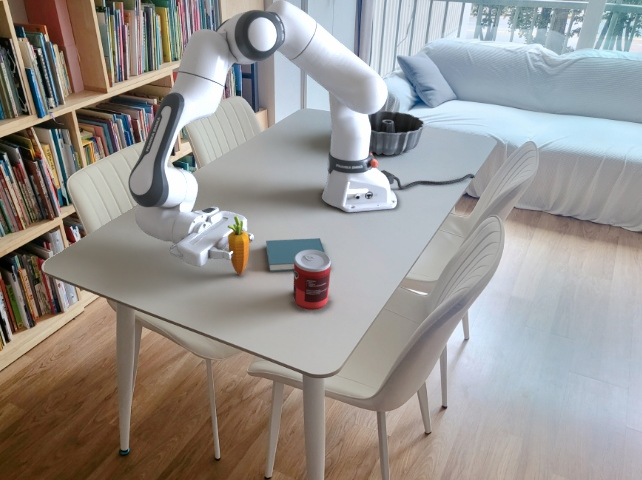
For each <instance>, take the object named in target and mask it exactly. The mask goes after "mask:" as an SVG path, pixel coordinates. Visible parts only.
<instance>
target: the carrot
mask: <svg viewBox="0 0 642 480" xmlns="http://www.w3.org/2000/svg"><path fill="white" fill-rule="evenodd" d="M234 219H235V222H236V224H233V226H234V227H233V226H231V225H228V228H231V229H232V230H233V232H232V233H230V234H229V235H228V244H229V245H228V249H229V250H232V251H233V257H232V258H231V259H230V261H231V264H232V267H233V270H234V271H235V272H236V274H237V275H239V276H241V275H242V274H243V273H244V272H245V270H246V268H247V265H248V260H249V254H250V243H249V238H248V234H247V233H246V232H244V231H242V228H243V221H242V220H241V223H240V222H239V219H238V217H237V216H235V217H234ZM236 225H237V226H236Z"/></svg>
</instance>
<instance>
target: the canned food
mask: <svg viewBox="0 0 642 480" xmlns="http://www.w3.org/2000/svg"><path fill="white" fill-rule="evenodd" d="M324 252H325V251H324ZM324 252H321V251H318V250H304V251H301V252H299V253H297V254H296V256H295V259H294V270H293V291H292V293H293V294H292V295H293V296H292V297H293V300H294V301H293V302H294V303H295V304H296V305H297V306H298V307H299V308H301V309H304V310H308V311H317V310H320V309H323V308H324V307H325V306H326V305H327V303H328V301H329V294H330V293H329V292H330V282H331V281H330V280H331V279H330V278H331V268H332V267H331V265H332V261H331V257H330V255H328V254H327V253H326V252H325V253H324Z"/></svg>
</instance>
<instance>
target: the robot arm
mask: <svg viewBox="0 0 642 480" xmlns="http://www.w3.org/2000/svg"><path fill="white" fill-rule="evenodd" d="M276 52H279V53H280V54H282V56H284V57H285V58H286V59H287V60H288V61H289V62H291V63H292V64H294V65H295V66H296V67H297V68H298V69H299V70H301V71H302V72H303V73H304V74H306V75H307V76H308V77H310V78H311V79H312V80H313V81H315V82H316V83H317V84H318V85H319V86H321V87H322V88H323V89H324V90H326V91H327V92H328V101H329V112H330V120H331V132H330V133H331V134H330V151H329V152H328V157H327V167H326V168H327V169H326V170H327V177H326V182H325V186H324V189H323V192H322V195H321V198H322V200H323V201H324V202H325V203H326V204H328V205H329V206H331V207H335V208H338V209H339V210H342V211H343V212H345V213H354V212H355V213H358V212H368V211H380V210H392V209H394V208H396V207H397V201H398V200H397V196H396V194H395V192H394V190H393V189H391V185H393V184H394V183H395V181H396V183H397V187H398V188H399V190H406V189H409V188H411V187H412V186H415V185H419V184H421V185H422V184H426V185H447V184H453V183H459V182H462V181H464V180H466V179H467V178H472V179H476V176H475V175H474V174H473V173H468V174H465V175H464V176H463V177H460V178H456V179H450V180H441V181H434V180H417V181H413V182H410V183H408V184H407V185H405V186H402V184H401V180H400V179H399V178H398V177H397V176H395V175H394V174H393V173H391V172H389V171H387V170H385V169H382V170H379V169H378V168H377V167H379V162H378V160H377V159H376V157H375V156H374V155H373V153H372V152H369V144H370V135H371V126H370V123H369V118H368V115H370V114H374V113H376V112H377V111H381V109H382V108H383V107H384V105H385V104H386V101H387V99H388V93H389V92H388V87H387V84H386V82H385V80H384V79H383V78H382V77H381V75H380V74H379V73H378V72H376V70H374V69H373V68H372V67H371V66H370V65H368V64H367V63H366V62H365V61H363V60H362V59H361V58H360V57H359V56H358V55H357V54H355V53H354V52H353V51H351V50H350V49H349V48H348V47H346V46H345V45H344V44H343V43H342V42H340V41H339V40H338V39H337V38H336V37H334V35H332V34H331V33H330V32H329V31H328V30H326V28H325V27H323V26H322V25H321V24H320V23H319V22H318V21H317V20H315V19H314V17H312V16H310V15H309V14H308V13H307V12H305V11H304V10H302V9H301V8H300V7H298V6H296V5H295V4H292V3H291V2H289V1H288V0H275V1H274V2H272V3H271V4H270V5H269V6H268V7H267V8H266V10H262V9H261V10H260V9H251V10H248V11H243V12H239V13H237V14H234V15H233V16H232V17H231V18H228V19H226V20H224V21H223V22H222V23H221V24H220V25H219V26H218V27H217V28H216V29H215V30H213V29H209V28H202V29H198V30H195V31H194V32H192V33H191V36H190V37H189V39H188V41H187V43H186V46H185V48H184V51H183V54H182V56H181V59H180V62H179V66H178V70H177V73H176V78H175V81H174V83H173V85H172V87H171V89H170V91H169V93H168V94H166V95H165V96H164V97H163V98H162V100H161V101H160V103H159V105H158V107H157V109H156V112H155V115H154V116H153V117H154V118H153V120H152V123H151V125H150V128H149V131H148V134H147V136H146V139H145V141H144V144H143V148H142V150H141V153H140V155H139V157H138V160H137V161H136V163H135V164H134V166H133V168H132V170H131V171H130V173H129V176H128V190H129V193H130V196H131V198H132V199H133V201H134V202H135V203H136V204H137V207H136V209H135V213H134V214H135V215H134V218H135V222H136V225H137V226H138V228H139V229H140V230H141V231H142V232H143V233H145V234H146V235H148V236H151V237H152V238H154V239H157V240H159V241H162V242H171V243H173V244H172V245H171V246H170V248H169V253H170V255H171V256H174V257H178V258H179V259H180V260H181V261H182V262H185V263H187V264H189V265H191V266H194V267H202V266H204V265H205V264H206V263H208V262H209V261H210V260H211V259H213V260H221V259H224V260H227V261H231V258H232V257H233V251H232V250H229V248H227V247H229V244H228V235H229V234H230V233H232V232H233V230H232V229H231V228H228V225H231V226H233V224H236V222H235V219H234V217H235V216H237V217H238V219H239V222H240V223H241V220H242V221H243V228H242V231H244V232H246V233H247V234H248V238H249V244H250V243H252V242H253V241H254V239H255V237H254V234H253V233H250V232H248V219H247V218H246V217H245V216H244V215H242V214H239V213H236V212H233V211H228V210H220V209H219V207H217V206H209V207H207V208H203V209H200V210H194V207H195V205H196V201H197V197H198V194H199V184H198V180H197V178H196V177H195V175H194V174H193V173H192V172H191V171H189V170H187V169H181V168H178V167H171V166H168V164H169V161H170V158H171V155H172V152H173V149H174V146H175V143H176V141H177V138H178V135H179V133H180V131H182V129H183V128H184V127H185V126H187V125H189V124H190V123H193V122H197V121H201V120H205V119H207V118H209V117H210V116H212V115H213V114H214V113H216V111H217V110H218V108H219V106H220V103H221V100H222V97H223V95H224V94H223V93H224V89H225V85H226V81H227V75H228V74H229V72H230V69H231V67H232V66H233V65H235V66H238V65H252V64H256V63H258V62H262V61H263V62H264V61H266V60H267V59H269V58H271V56H273V55H274V54H275V53H276ZM193 210H194V211H193ZM236 226H237V225H236ZM233 227H234V226H233Z"/></svg>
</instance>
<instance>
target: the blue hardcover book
mask: <svg viewBox="0 0 642 480" xmlns="http://www.w3.org/2000/svg"><path fill="white" fill-rule="evenodd" d="M265 244H266V247H265V250H266V256H267V263H268V269H269V272H273V273H274V272H290V271H292V272H294V259H295V256H296V254H297V253H299V252H301V251H304V250H318V251H321V252H324V253H326V252H325V249H324V246H323V243H322V240H321V237H320V238H319V237H318V238H299V239H298V238H297V239H296V238H295V239H277V240H275V239H274V240H272V239H271V240H265Z"/></svg>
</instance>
